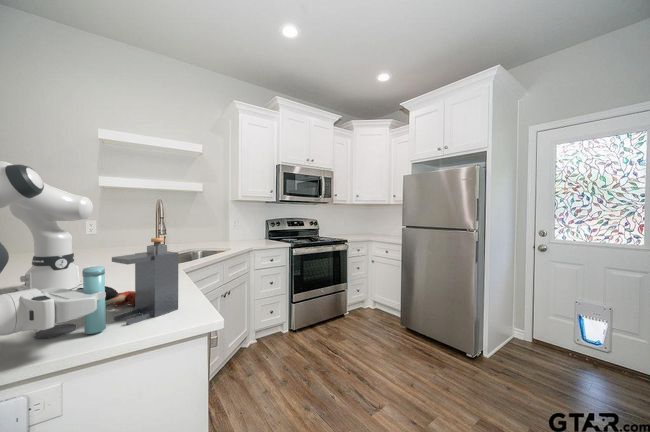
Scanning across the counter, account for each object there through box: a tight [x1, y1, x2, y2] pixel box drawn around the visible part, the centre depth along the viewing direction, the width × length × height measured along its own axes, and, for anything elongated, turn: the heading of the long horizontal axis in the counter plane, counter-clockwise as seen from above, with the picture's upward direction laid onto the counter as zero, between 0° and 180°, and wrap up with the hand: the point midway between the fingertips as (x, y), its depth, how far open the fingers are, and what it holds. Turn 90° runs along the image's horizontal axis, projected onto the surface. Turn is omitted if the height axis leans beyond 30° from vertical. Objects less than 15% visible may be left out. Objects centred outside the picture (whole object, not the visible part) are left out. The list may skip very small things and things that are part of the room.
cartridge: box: [81, 265, 107, 335], centre depth 74 cm, size 5×5×17 cm
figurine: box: [76, 285, 135, 307], centre depth 97 cm, size 29×6×30 cm
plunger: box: [150, 237, 164, 246], centre depth 89 cm, size 3×3×4 cm
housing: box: [111, 243, 179, 326], centre depth 86 cm, size 10×15×22 cm, turn 155°
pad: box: [34, 322, 77, 340], centre depth 74 cm, size 8×8×1 cm
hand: (98, 292), depth 74 cm, fingers closed on cartridge, 4 cm apart
